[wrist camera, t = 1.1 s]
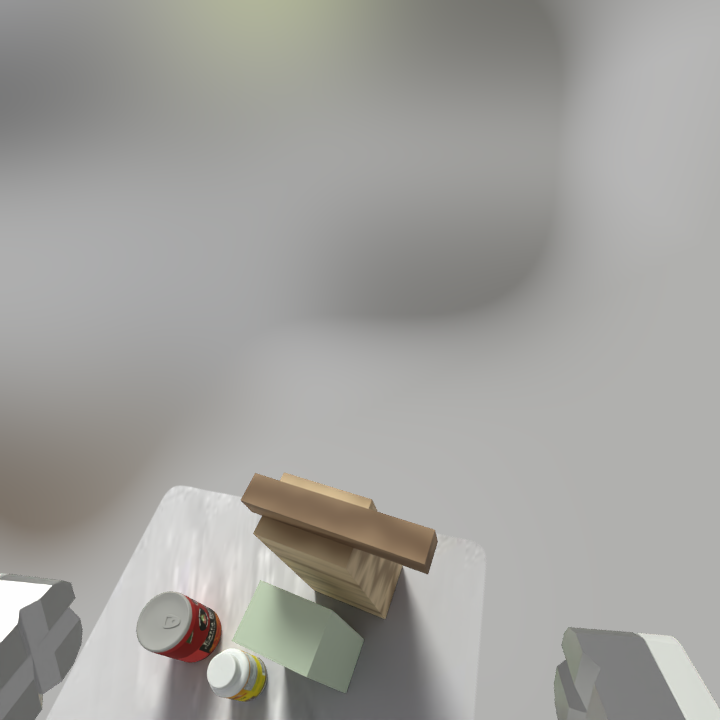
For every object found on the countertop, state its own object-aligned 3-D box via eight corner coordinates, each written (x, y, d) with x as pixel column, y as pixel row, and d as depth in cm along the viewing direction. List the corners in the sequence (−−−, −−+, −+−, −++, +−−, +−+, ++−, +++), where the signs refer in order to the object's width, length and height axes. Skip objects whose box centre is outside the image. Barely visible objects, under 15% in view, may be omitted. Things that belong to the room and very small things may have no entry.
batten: (428, 574, 50) (424, 564, 47) (251, 511, 58) (240, 500, 55) (437, 541, 51) (434, 529, 49) (265, 485, 60) (255, 473, 57)
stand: (385, 619, 71) (345, 568, 52) (314, 590, 76) (253, 533, 56) (402, 565, 76) (371, 499, 56) (334, 541, 80) (284, 472, 61)
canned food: (223, 655, 73) (189, 643, 65) (173, 670, 73) (132, 659, 65) (222, 601, 78) (190, 583, 70) (175, 615, 78) (138, 599, 70)
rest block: (346, 693, 67) (306, 677, 52) (284, 663, 71) (231, 640, 56) (364, 639, 70) (332, 610, 56) (305, 613, 74) (260, 580, 60)
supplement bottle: (225, 693, 70) (192, 686, 62) (243, 651, 73) (213, 638, 65) (258, 709, 68) (228, 703, 60) (275, 664, 71) (248, 653, 63)
